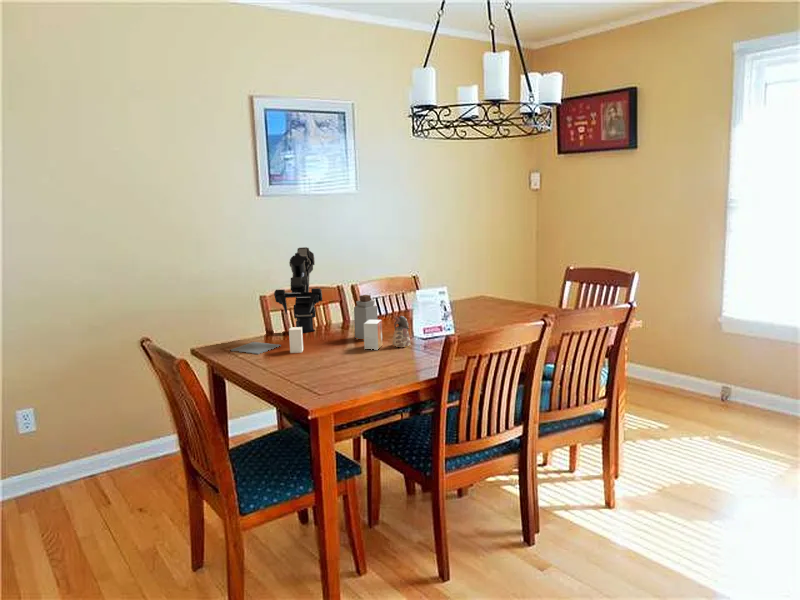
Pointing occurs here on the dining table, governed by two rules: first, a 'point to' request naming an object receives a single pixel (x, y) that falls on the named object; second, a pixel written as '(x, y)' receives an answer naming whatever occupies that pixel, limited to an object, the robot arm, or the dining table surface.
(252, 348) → the charcoal mat
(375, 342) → the small box
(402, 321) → the figurine
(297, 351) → the pale block
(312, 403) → the dining table surface
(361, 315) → the grey bottle
